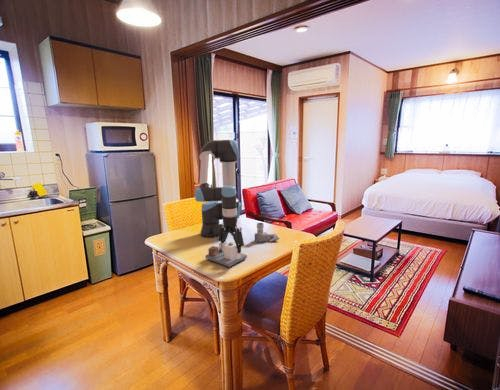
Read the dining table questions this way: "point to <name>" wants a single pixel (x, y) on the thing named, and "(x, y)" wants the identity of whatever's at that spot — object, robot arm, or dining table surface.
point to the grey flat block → (225, 259)
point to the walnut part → (213, 251)
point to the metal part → (220, 247)
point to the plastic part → (230, 251)
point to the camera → (264, 235)
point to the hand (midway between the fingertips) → (231, 256)
